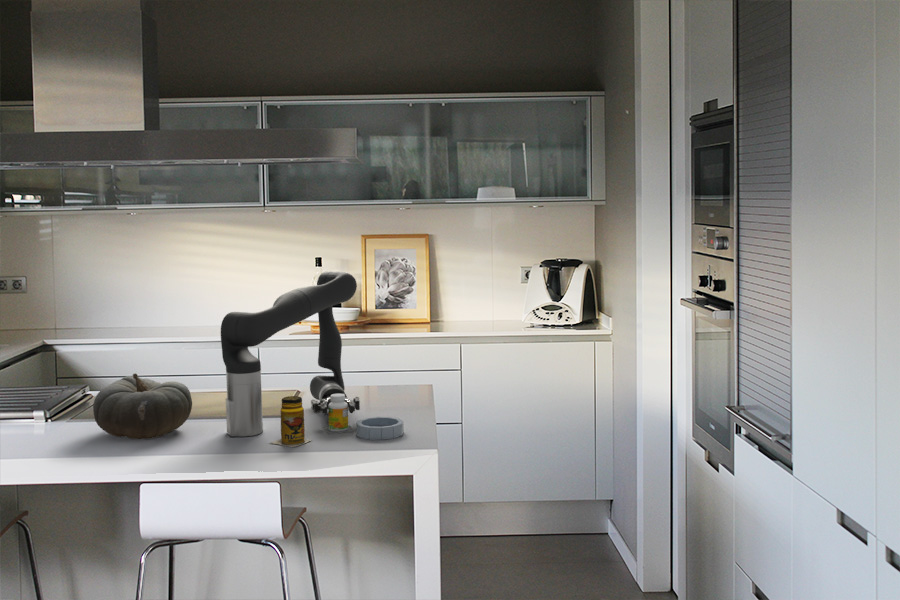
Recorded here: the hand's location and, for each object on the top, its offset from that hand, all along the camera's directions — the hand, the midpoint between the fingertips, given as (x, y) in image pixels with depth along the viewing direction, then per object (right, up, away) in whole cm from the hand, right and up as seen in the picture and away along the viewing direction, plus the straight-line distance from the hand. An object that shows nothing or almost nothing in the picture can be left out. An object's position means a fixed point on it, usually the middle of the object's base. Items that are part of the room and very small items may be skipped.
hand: (339, 410), depth 235 cm
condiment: (-11, -7, -9) cm, 17 cm away
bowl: (+11, -6, -2) cm, 13 cm away
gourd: (-53, -7, +2) cm, 54 cm away
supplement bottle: (0, -6, +3) cm, 7 cm away
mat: (0, -6, +3) cm, 6 cm away
